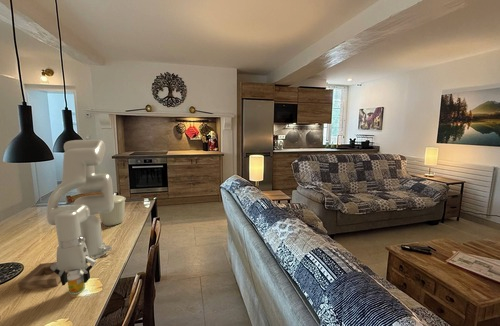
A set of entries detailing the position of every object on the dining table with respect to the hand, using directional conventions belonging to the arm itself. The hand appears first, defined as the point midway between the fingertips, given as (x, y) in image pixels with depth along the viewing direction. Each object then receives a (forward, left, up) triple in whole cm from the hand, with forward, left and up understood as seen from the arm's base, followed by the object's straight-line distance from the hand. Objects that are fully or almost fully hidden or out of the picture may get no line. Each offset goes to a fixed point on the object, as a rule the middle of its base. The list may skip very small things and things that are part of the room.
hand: (76, 281), depth 100 cm
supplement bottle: (0, 0, -4) cm, 4 cm away
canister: (+11, -74, -4) cm, 75 cm away
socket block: (+17, -12, -4) cm, 21 cm away
